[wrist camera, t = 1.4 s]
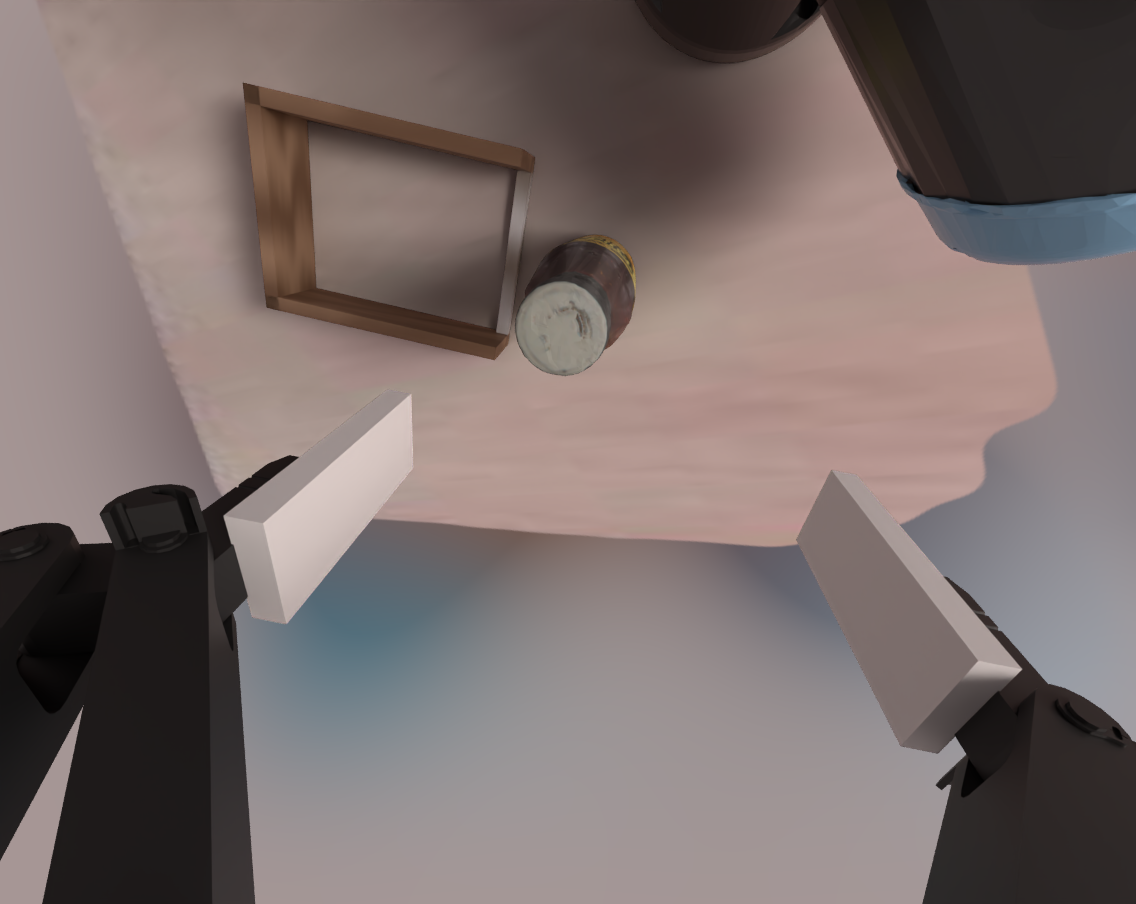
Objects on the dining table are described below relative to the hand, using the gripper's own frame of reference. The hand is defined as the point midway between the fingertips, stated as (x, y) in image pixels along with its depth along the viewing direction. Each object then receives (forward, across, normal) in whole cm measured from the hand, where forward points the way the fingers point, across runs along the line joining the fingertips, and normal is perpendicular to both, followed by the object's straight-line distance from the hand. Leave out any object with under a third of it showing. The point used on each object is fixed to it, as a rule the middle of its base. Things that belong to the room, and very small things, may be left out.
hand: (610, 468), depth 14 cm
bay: (+26, -18, +3) cm, 32 cm away
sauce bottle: (+27, -3, +2) cm, 27 cm away
